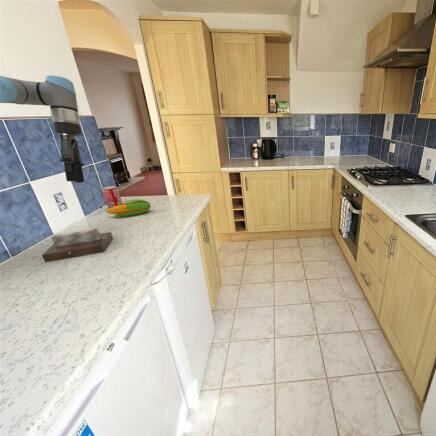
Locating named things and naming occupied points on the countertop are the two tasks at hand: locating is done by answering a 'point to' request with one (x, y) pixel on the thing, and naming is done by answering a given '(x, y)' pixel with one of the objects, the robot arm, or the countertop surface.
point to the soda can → (111, 196)
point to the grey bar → (76, 237)
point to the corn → (130, 208)
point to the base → (78, 248)
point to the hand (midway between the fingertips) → (76, 181)
